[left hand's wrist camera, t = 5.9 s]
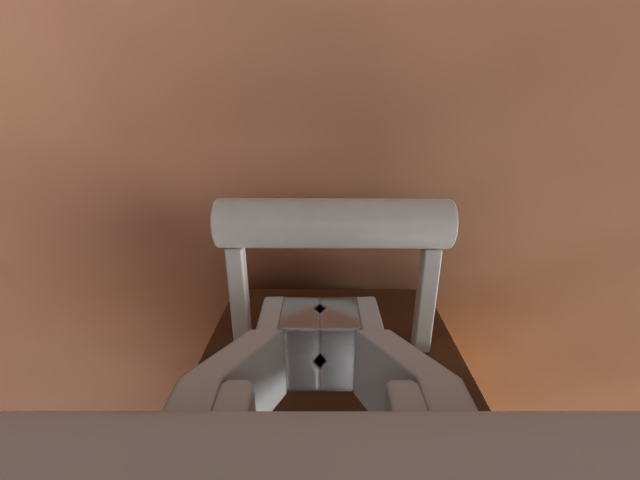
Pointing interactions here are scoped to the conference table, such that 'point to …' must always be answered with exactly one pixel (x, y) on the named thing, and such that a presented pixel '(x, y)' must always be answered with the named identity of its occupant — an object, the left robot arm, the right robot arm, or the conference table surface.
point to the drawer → (394, 305)
